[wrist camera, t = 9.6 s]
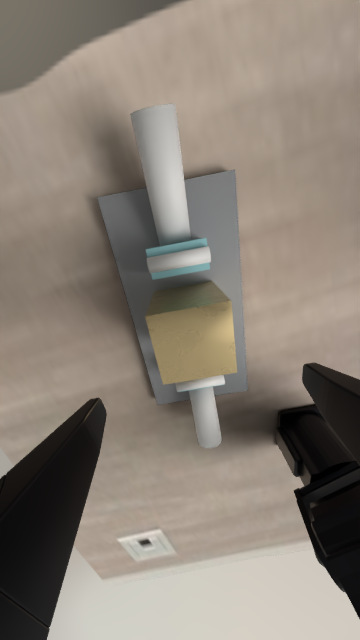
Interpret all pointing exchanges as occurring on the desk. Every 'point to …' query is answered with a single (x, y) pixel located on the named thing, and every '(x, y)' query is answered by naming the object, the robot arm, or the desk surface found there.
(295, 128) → the desk surface
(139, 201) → the coupling stand
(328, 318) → the desk surface
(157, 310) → the block
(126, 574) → the desk surface
